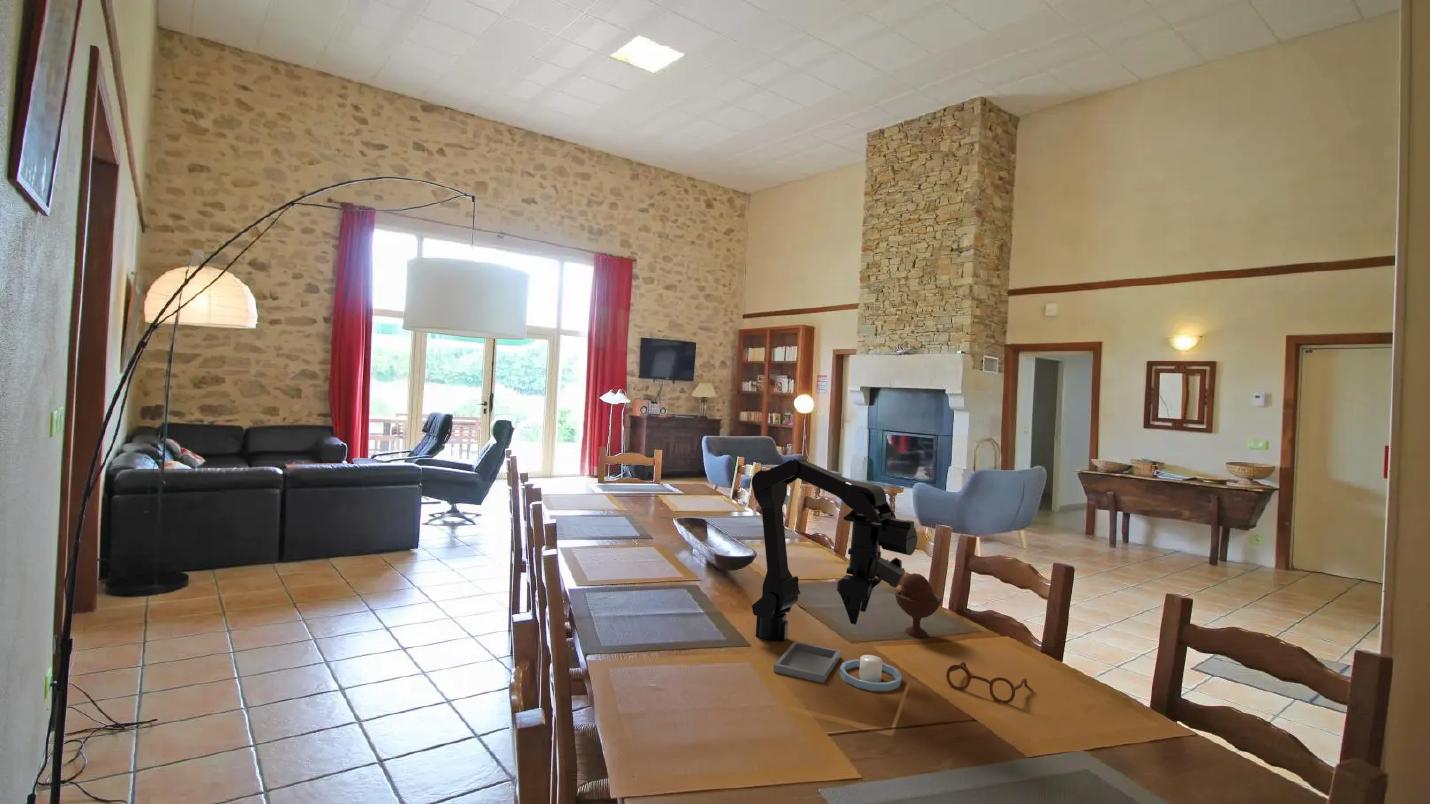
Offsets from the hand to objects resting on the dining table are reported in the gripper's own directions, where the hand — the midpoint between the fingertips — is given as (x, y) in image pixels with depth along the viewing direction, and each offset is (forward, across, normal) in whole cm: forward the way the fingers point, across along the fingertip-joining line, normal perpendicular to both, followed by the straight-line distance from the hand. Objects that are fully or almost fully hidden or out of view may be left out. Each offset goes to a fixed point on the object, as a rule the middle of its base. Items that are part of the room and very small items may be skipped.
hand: (858, 617), depth 145 cm
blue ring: (+11, -5, -4) cm, 13 cm away
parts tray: (+11, -5, +9) cm, 15 cm away
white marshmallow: (+10, -5, -4) cm, 12 cm away
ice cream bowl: (+11, +30, -9) cm, 33 cm away
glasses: (+11, +7, -26) cm, 29 cm away
